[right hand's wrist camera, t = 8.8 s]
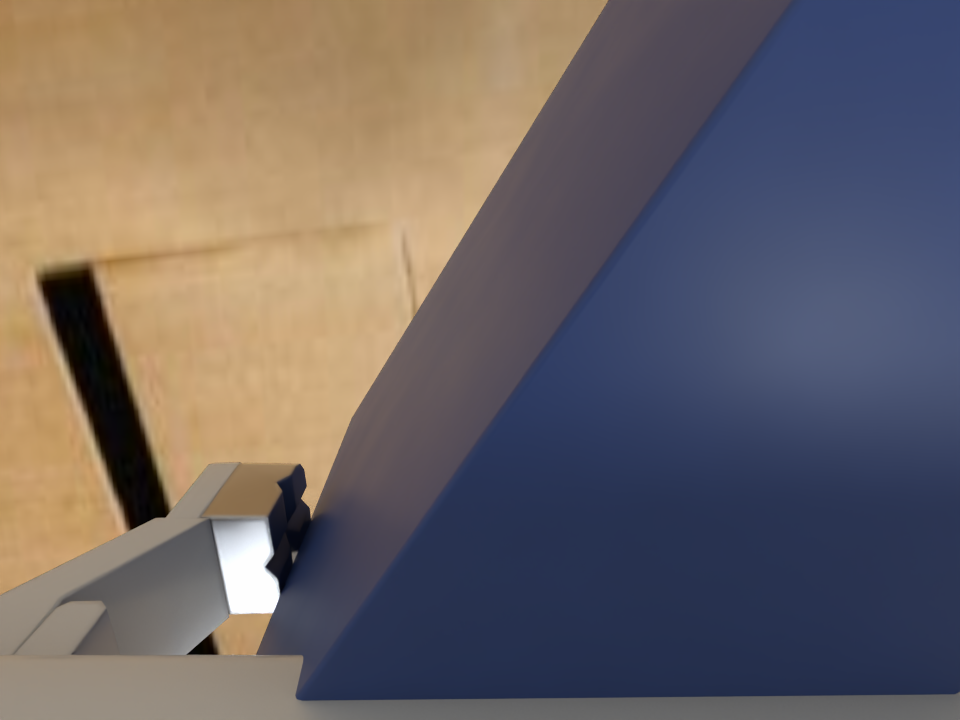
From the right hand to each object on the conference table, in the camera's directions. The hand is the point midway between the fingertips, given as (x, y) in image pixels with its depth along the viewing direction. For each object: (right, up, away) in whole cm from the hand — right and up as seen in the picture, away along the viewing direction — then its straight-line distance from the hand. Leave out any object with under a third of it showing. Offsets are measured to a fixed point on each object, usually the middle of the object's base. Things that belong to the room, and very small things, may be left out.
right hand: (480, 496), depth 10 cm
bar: (+6, +10, 0) cm, 12 cm away
